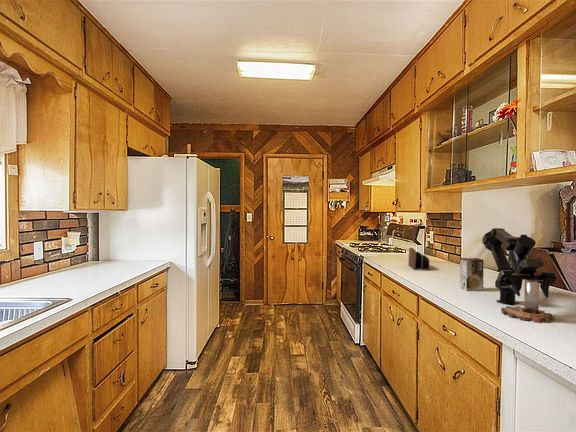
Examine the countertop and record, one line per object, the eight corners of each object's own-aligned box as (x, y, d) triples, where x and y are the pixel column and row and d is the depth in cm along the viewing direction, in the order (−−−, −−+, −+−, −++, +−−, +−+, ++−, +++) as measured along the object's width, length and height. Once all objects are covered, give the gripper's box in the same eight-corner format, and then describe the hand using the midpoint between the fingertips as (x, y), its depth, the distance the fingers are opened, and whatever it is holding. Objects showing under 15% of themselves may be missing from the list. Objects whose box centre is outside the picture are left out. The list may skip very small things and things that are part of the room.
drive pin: (522, 313, 130) (523, 279, 129) (536, 314, 128) (537, 280, 128) (526, 316, 126) (526, 282, 125) (540, 317, 124) (540, 283, 124)
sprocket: (513, 306, 142) (514, 300, 142) (561, 317, 128) (561, 310, 128) (493, 313, 133) (493, 306, 133) (541, 325, 119) (541, 318, 119)
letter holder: (414, 270, 226) (414, 249, 226) (408, 265, 246) (408, 246, 245) (429, 271, 225) (430, 250, 224) (422, 266, 244) (422, 246, 244)
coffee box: (476, 288, 176) (476, 257, 175) (483, 291, 169) (484, 259, 169) (459, 288, 176) (459, 257, 175) (466, 291, 169) (466, 259, 169)
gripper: (500, 249, 132) (511, 283, 122) (555, 251, 128) (571, 286, 118) (493, 266, 140) (503, 299, 130) (544, 268, 136) (558, 302, 125)
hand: (533, 296), depth 125 cm, fingers open, 9 cm apart
